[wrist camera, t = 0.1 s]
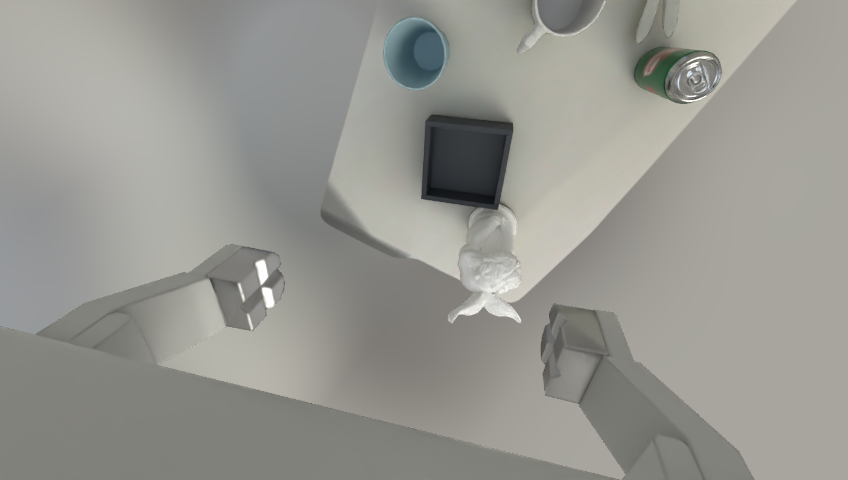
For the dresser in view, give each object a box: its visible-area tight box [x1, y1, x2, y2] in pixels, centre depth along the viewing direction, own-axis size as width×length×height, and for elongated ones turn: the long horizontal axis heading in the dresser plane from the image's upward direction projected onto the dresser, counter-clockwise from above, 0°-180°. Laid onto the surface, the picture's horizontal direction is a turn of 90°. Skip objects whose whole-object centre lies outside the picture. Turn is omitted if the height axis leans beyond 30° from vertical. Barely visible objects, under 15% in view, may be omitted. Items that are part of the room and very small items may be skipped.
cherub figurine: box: [448, 204, 522, 323], centre depth 53 cm, size 12×12×22 cm
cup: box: [383, 17, 450, 90], centre depth 45 cm, size 8×8×10 cm
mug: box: [517, 0, 606, 54], centre depth 40 cm, size 10×7×12 cm, turn 140°
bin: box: [421, 115, 513, 210], centre depth 55 cm, size 13×13×4 cm
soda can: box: [635, 47, 722, 104], centre depth 40 cm, size 5×5×12 cm
